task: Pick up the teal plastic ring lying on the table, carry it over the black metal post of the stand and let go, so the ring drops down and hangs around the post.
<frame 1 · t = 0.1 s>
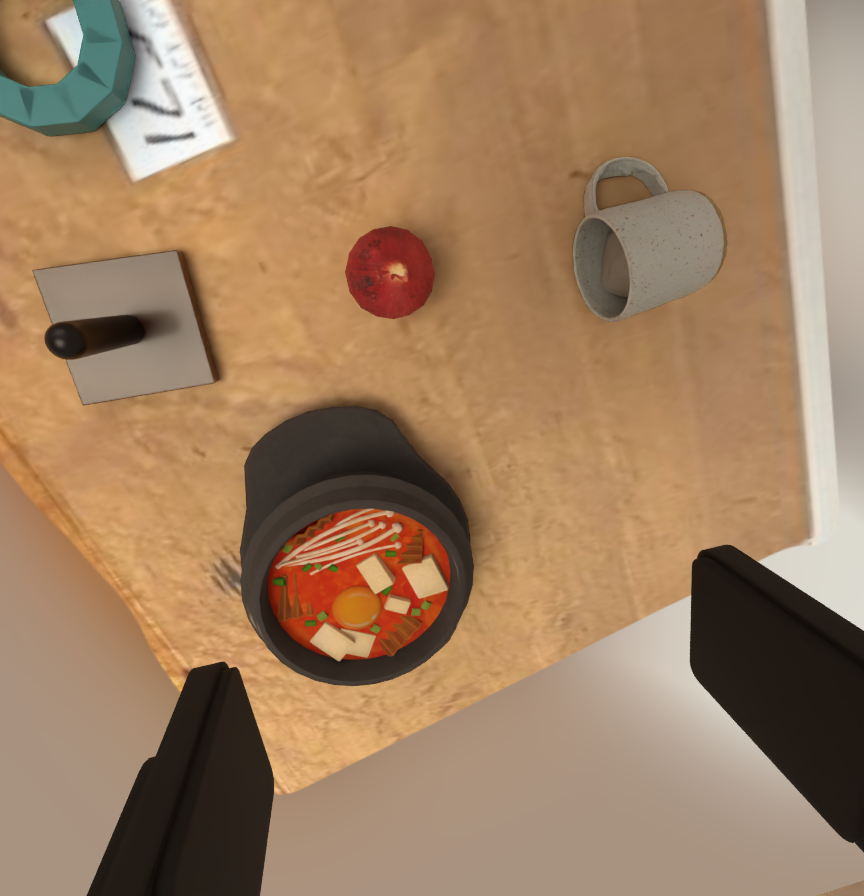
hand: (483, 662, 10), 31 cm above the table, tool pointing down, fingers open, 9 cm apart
stand: (135, 328, 35), on the table
onion: (385, 275, 37), on the table
ceramic mug: (612, 241, 39), on the table
ring: (41, 39, 30), on the table
casserole: (358, 542, 43), on the table
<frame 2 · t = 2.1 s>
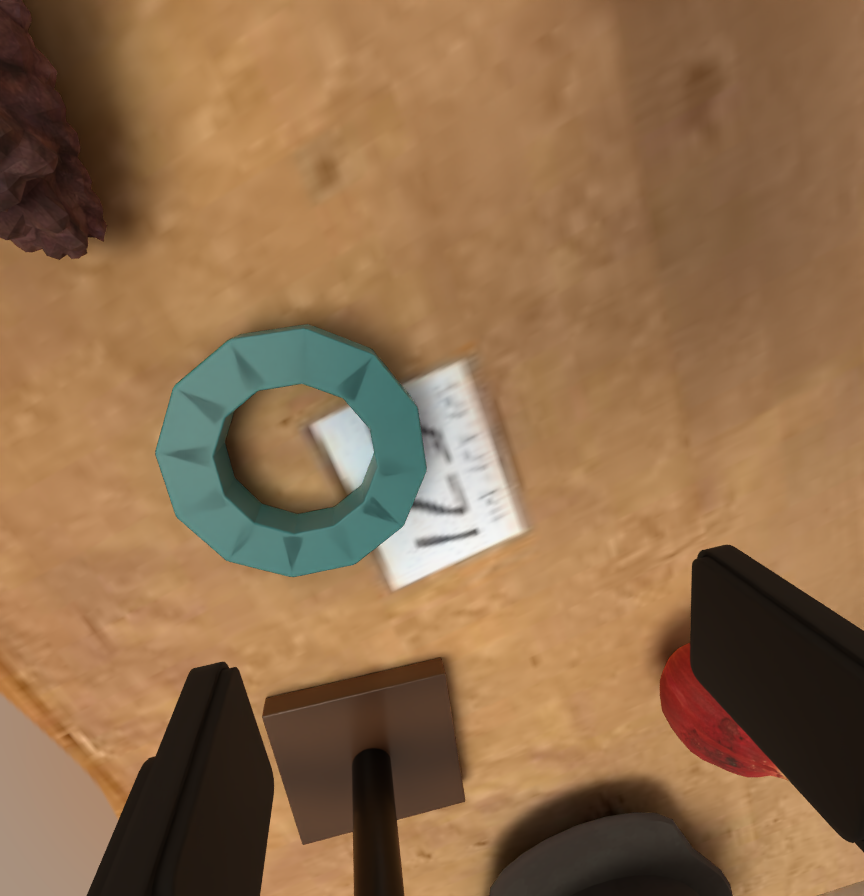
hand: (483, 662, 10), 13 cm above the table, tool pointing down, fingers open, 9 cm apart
stand: (370, 743, 27), on the table
onion: (676, 650, 29), on the table
ring: (301, 447, 22), on the table
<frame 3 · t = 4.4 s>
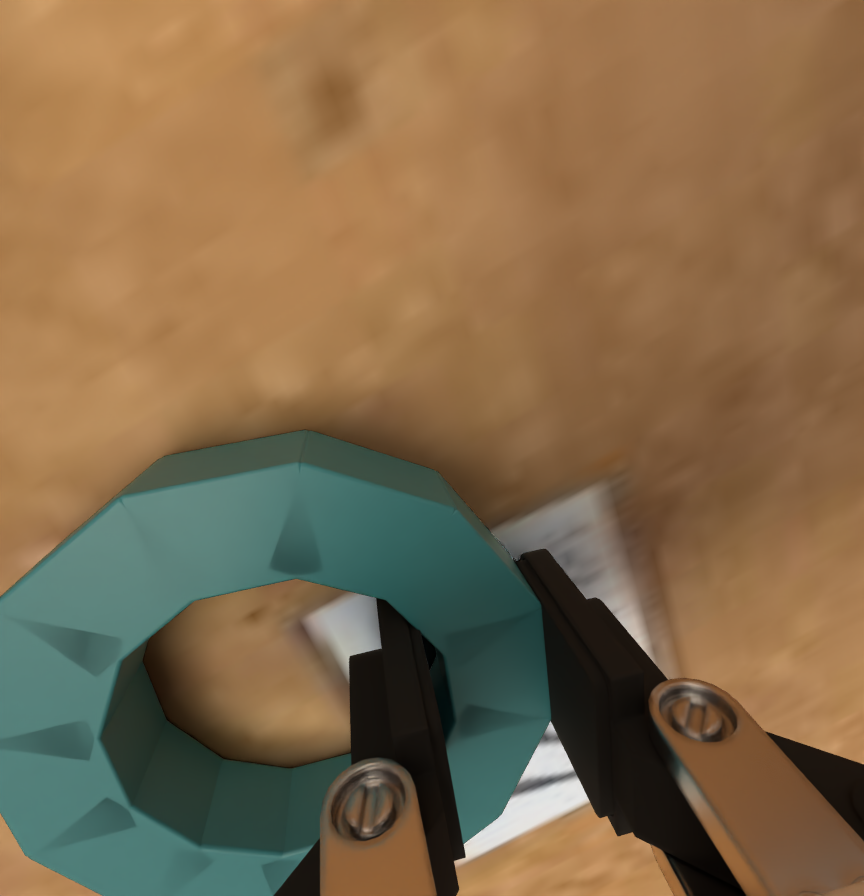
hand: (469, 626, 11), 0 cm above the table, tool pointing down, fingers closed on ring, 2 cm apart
ring: (297, 656, 11), on the table, touching gripper
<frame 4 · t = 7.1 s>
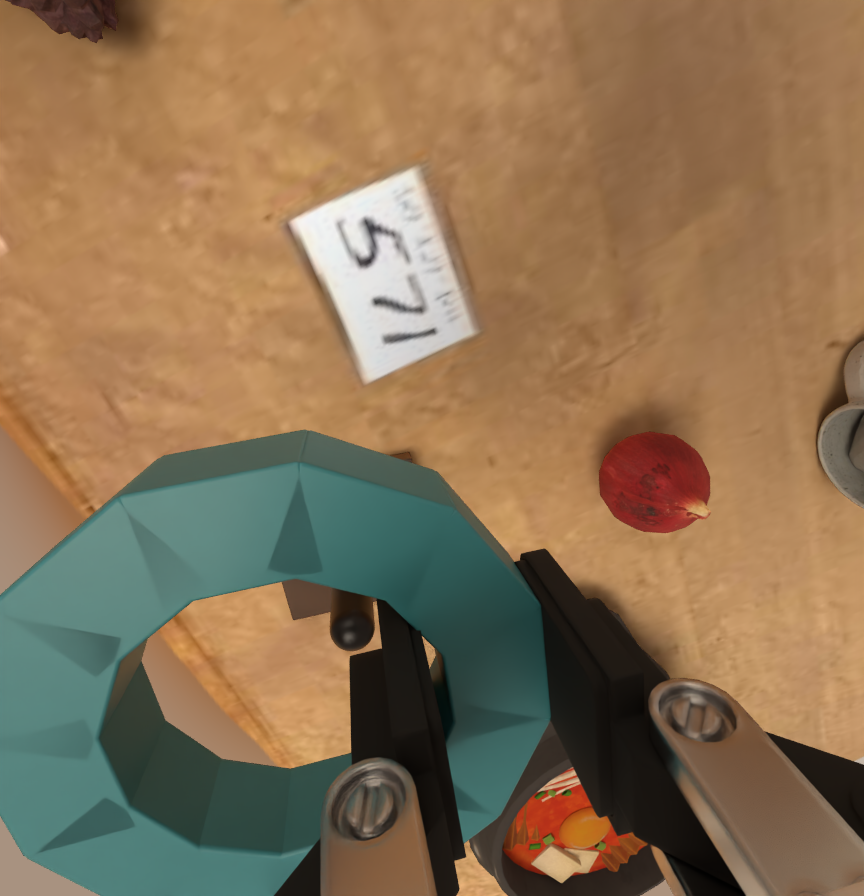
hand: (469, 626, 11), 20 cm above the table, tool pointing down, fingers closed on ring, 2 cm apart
stand: (349, 532, 31), on the table
onion: (618, 460, 33), on the table
ceramic mug: (859, 409, 35), on the table
ring: (296, 656, 11), point 19 cm above the table, touching gripper
casserole: (553, 722, 39), on the table
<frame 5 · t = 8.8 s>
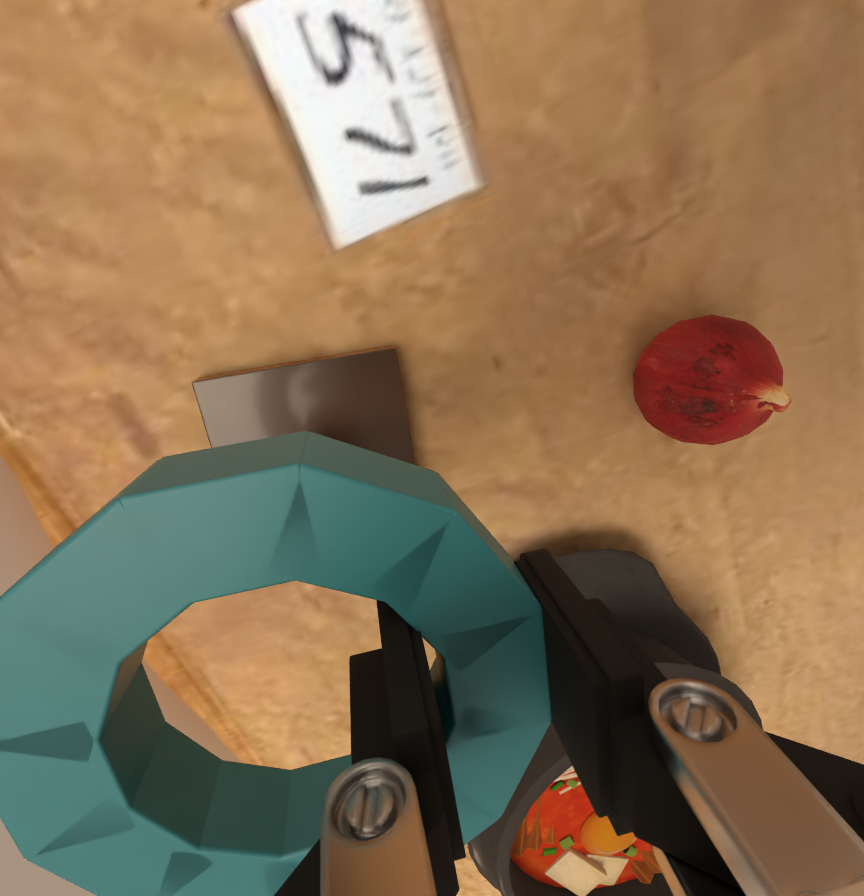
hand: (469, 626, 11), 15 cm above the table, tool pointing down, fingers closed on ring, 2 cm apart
stand: (318, 451, 25), on the table
onion: (653, 368, 27), on the table
ring: (297, 657, 11), point 15 cm above the table, touching gripper
casserole: (569, 702, 33), on the table
when the fingers open (12 cm above the table, at t = 9.9 s): ring drops 11 cm, resting on stand.
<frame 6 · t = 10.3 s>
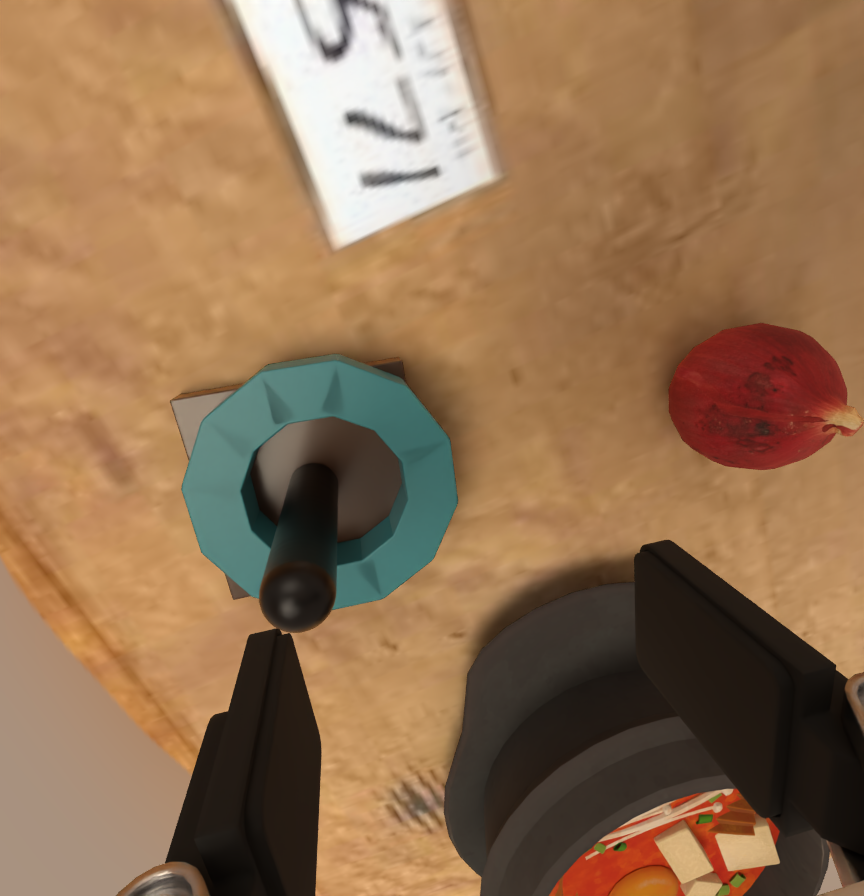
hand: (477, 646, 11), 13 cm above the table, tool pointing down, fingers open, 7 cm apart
stand: (315, 475, 22), on the table
onion: (687, 381, 24), on the table
ring: (328, 477, 21), point 1 cm above the table, touching stand
casserole: (590, 744, 30), on the table
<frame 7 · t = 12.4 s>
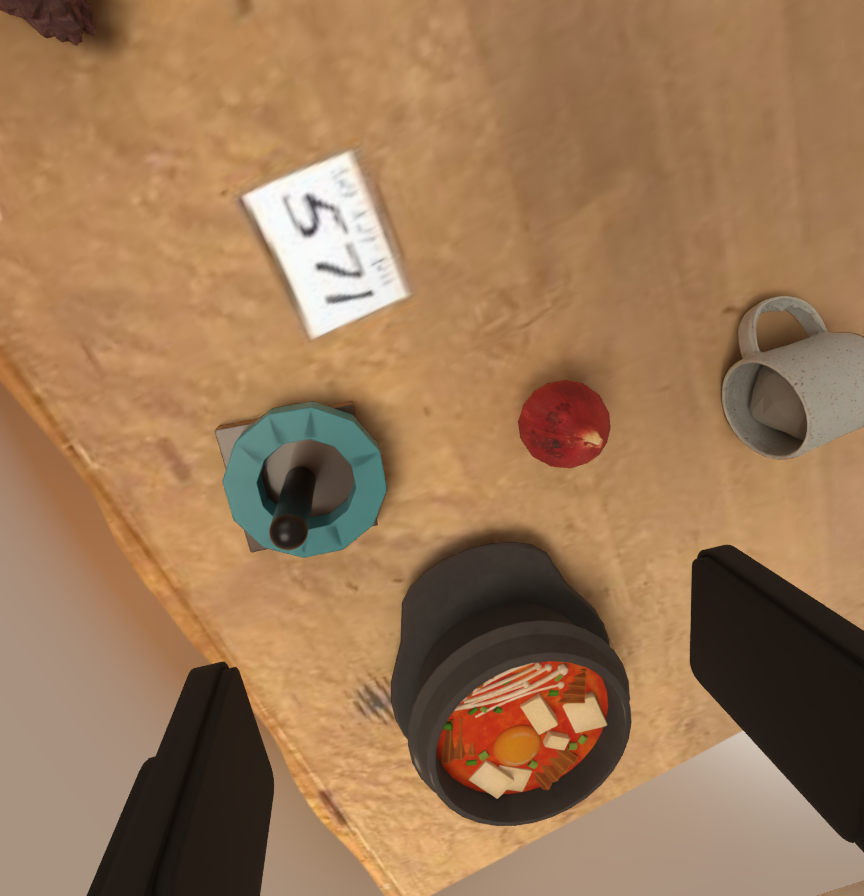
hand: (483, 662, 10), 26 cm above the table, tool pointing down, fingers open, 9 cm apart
stand: (301, 474, 36), on the table
onion: (541, 412, 38), on the table
ceramic mug: (758, 369, 40), on the table
ring: (309, 475, 34), point 1 cm above the table, touching stand
casserole: (496, 661, 43), on the table
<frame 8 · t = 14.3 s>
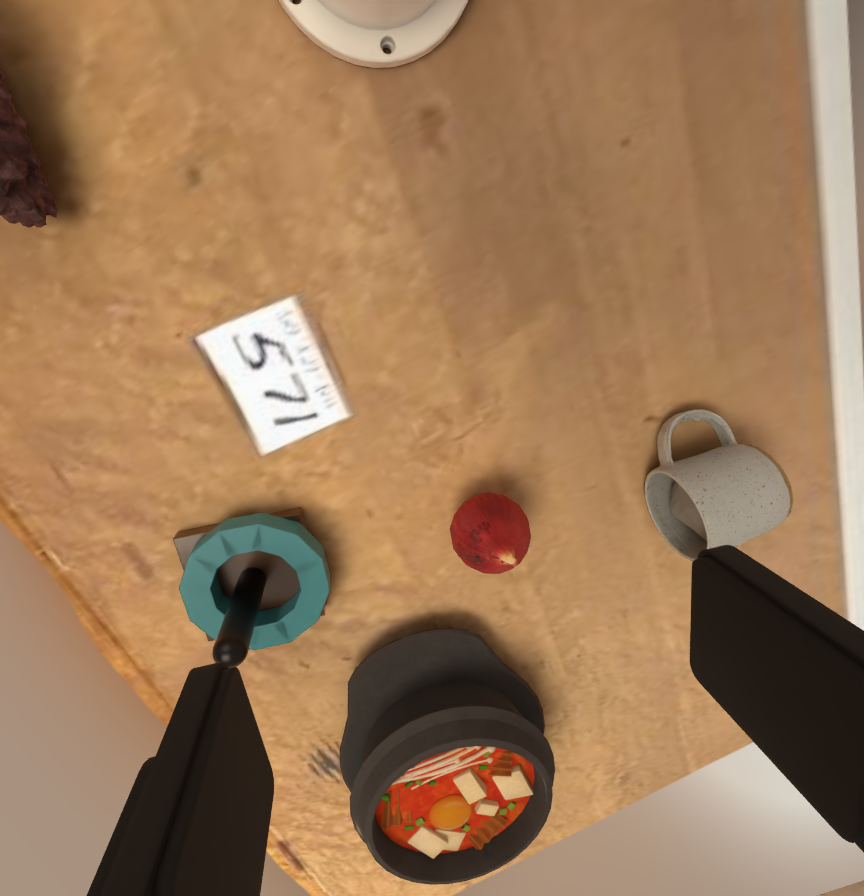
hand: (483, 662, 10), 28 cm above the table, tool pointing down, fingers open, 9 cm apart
stand: (255, 570, 39), on the table
onion: (476, 511, 41), on the table
ceramic mug: (679, 468, 43), on the table
ring: (260, 574, 38), point 1 cm above the table, touching stand
casserole: (440, 726, 47), on the table
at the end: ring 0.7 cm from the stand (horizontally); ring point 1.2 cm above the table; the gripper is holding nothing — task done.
